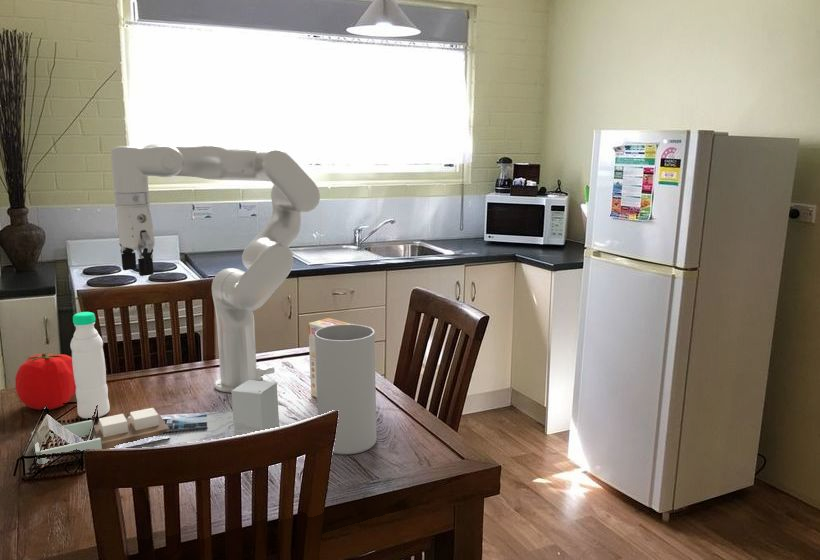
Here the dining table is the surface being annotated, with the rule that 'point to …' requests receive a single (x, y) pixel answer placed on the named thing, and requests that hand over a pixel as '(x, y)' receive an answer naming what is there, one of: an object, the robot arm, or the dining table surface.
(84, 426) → the tray
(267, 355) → the dining table surface
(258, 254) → the robot arm
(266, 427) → the supplement box
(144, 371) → the dining table surface
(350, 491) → the dining table surface
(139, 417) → the tile
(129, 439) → the board
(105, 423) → the tile
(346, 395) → the cylinder vase
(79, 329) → the water bottle
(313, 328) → the coffeecake box
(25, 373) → the tomato
